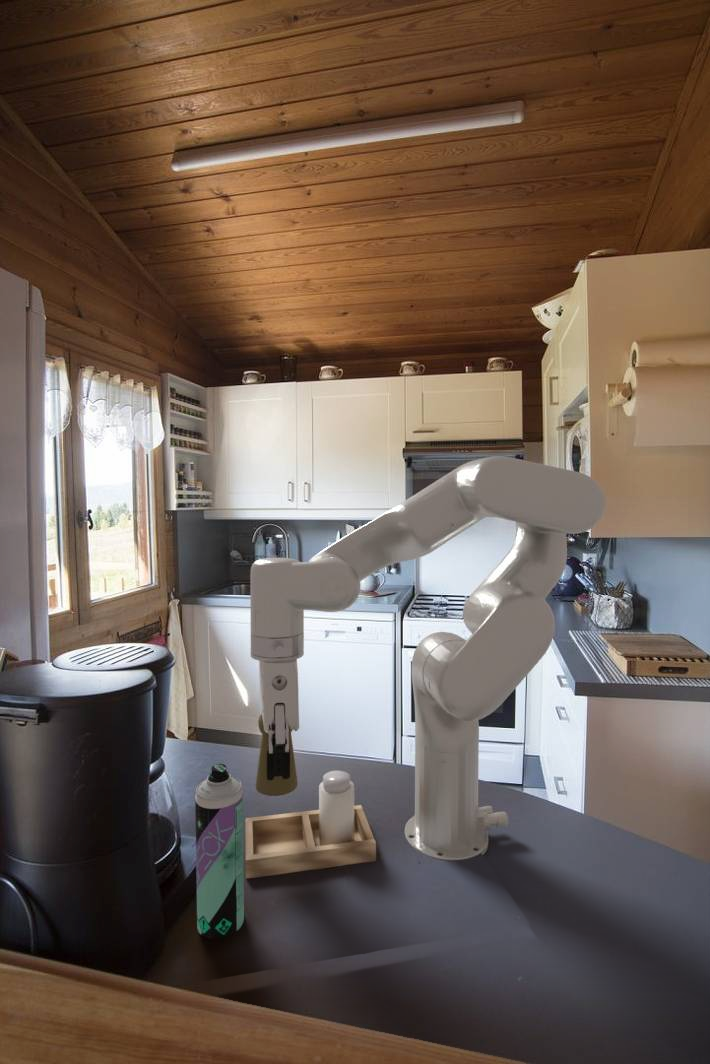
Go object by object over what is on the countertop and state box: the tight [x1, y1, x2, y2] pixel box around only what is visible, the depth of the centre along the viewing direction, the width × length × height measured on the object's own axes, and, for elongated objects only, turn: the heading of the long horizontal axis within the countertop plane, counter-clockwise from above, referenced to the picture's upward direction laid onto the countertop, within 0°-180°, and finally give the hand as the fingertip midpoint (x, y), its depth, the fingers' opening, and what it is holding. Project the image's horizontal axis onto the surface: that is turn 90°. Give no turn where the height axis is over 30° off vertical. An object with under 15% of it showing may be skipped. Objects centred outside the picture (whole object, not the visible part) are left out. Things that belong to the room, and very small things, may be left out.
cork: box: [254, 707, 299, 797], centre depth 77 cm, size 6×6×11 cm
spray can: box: [194, 763, 245, 940], centre depth 65 cm, size 6×6×20 cm
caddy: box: [245, 804, 377, 879], centre depth 79 cm, size 18×10×4 cm, turn 102°
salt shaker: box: [318, 770, 355, 846], centre depth 80 cm, size 5×5×10 cm
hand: (277, 769), depth 78 cm, fingers closed on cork, 4 cm apart
